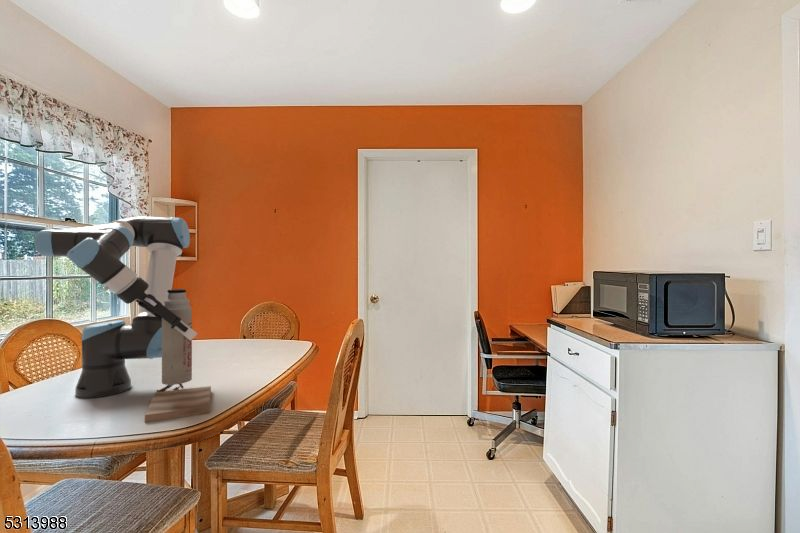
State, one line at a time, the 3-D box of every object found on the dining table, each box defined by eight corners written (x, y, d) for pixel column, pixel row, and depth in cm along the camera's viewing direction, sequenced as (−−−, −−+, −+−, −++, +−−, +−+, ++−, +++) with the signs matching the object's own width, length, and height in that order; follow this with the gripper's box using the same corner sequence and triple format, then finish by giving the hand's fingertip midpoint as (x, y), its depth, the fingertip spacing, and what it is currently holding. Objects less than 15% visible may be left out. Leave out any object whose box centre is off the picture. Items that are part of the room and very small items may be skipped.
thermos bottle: (197, 377, 122) (197, 288, 122) (178, 385, 114) (178, 290, 114) (175, 376, 124) (175, 288, 123) (155, 383, 116) (155, 289, 115)
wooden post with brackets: (187, 386, 135) (181, 375, 134) (164, 401, 129) (158, 390, 128) (184, 385, 136) (179, 374, 135) (161, 400, 130) (155, 389, 129)
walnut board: (155, 398, 125) (155, 392, 125) (210, 391, 132) (210, 386, 132) (144, 422, 107) (144, 415, 107) (209, 413, 114) (209, 406, 114)
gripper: (108, 292, 115) (170, 339, 127) (122, 298, 100) (190, 350, 112) (130, 274, 119) (187, 321, 130) (146, 276, 104) (210, 329, 116)
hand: (189, 334), depth 121 cm, fingers closed on thermos bottle, 8 cm apart
